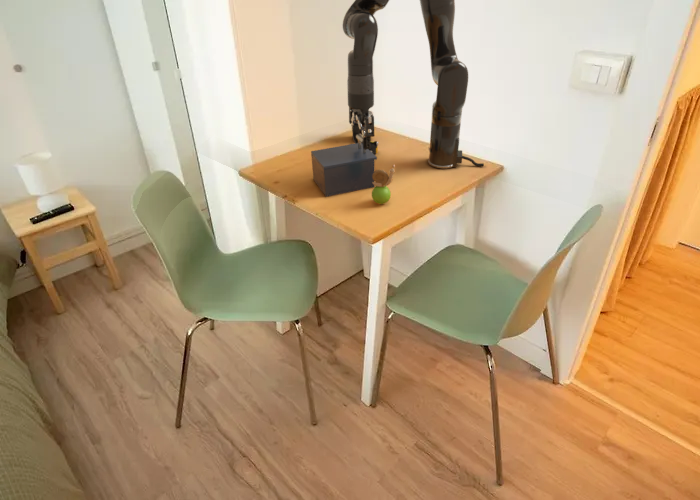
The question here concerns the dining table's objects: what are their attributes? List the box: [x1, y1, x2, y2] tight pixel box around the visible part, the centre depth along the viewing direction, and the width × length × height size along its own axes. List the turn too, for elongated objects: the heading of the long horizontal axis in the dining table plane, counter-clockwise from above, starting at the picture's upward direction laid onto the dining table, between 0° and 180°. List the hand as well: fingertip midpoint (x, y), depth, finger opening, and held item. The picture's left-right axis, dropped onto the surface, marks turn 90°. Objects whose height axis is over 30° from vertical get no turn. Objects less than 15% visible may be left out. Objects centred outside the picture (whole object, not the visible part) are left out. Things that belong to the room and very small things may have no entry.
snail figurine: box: [371, 164, 396, 205], centre depth 131 cm, size 5×6×12 cm
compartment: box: [310, 153, 376, 198], centre depth 143 cm, size 16×13×9 cm
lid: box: [310, 133, 378, 169], centre depth 139 cm, size 17×13×5 cm
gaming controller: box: [352, 135, 379, 156], centre depth 162 cm, size 15×6×10 cm
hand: (361, 144), depth 141 cm, fingers open, 8 cm apart
